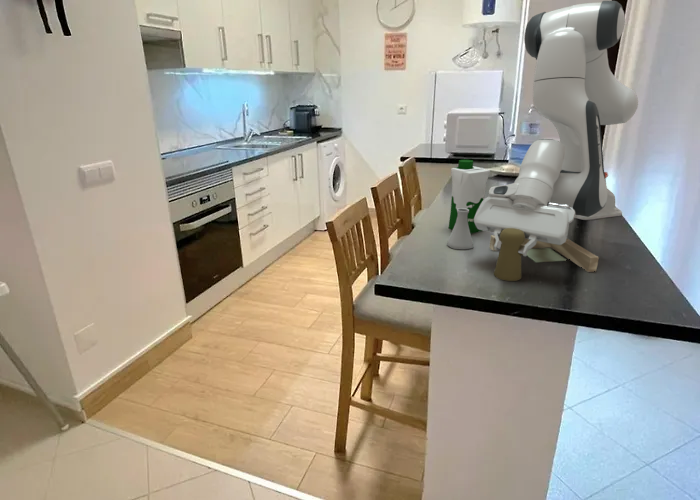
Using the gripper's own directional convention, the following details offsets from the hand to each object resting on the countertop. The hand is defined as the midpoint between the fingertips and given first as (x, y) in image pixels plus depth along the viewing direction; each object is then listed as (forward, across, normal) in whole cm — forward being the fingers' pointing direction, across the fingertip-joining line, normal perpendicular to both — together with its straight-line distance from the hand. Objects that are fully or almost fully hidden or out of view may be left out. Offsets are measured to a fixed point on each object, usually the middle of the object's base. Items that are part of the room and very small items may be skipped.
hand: (509, 252), depth 99 cm
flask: (-4, +17, -13) cm, 22 cm away
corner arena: (-6, -3, -15) cm, 16 cm away
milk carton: (-13, +21, -22) cm, 33 cm away
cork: (+4, 0, -5) cm, 6 cm away
